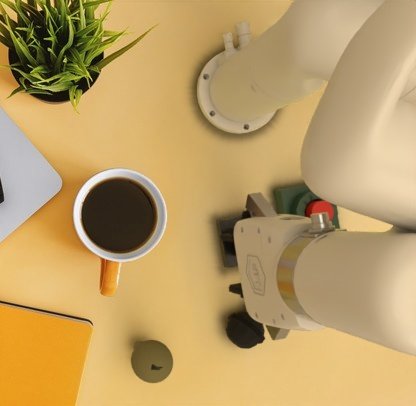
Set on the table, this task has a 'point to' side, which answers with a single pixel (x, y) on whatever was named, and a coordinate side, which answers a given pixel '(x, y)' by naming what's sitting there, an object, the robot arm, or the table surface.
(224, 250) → the switch pillar
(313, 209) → the button
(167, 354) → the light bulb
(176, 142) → the table surface
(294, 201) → the button box
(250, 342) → the microphone
